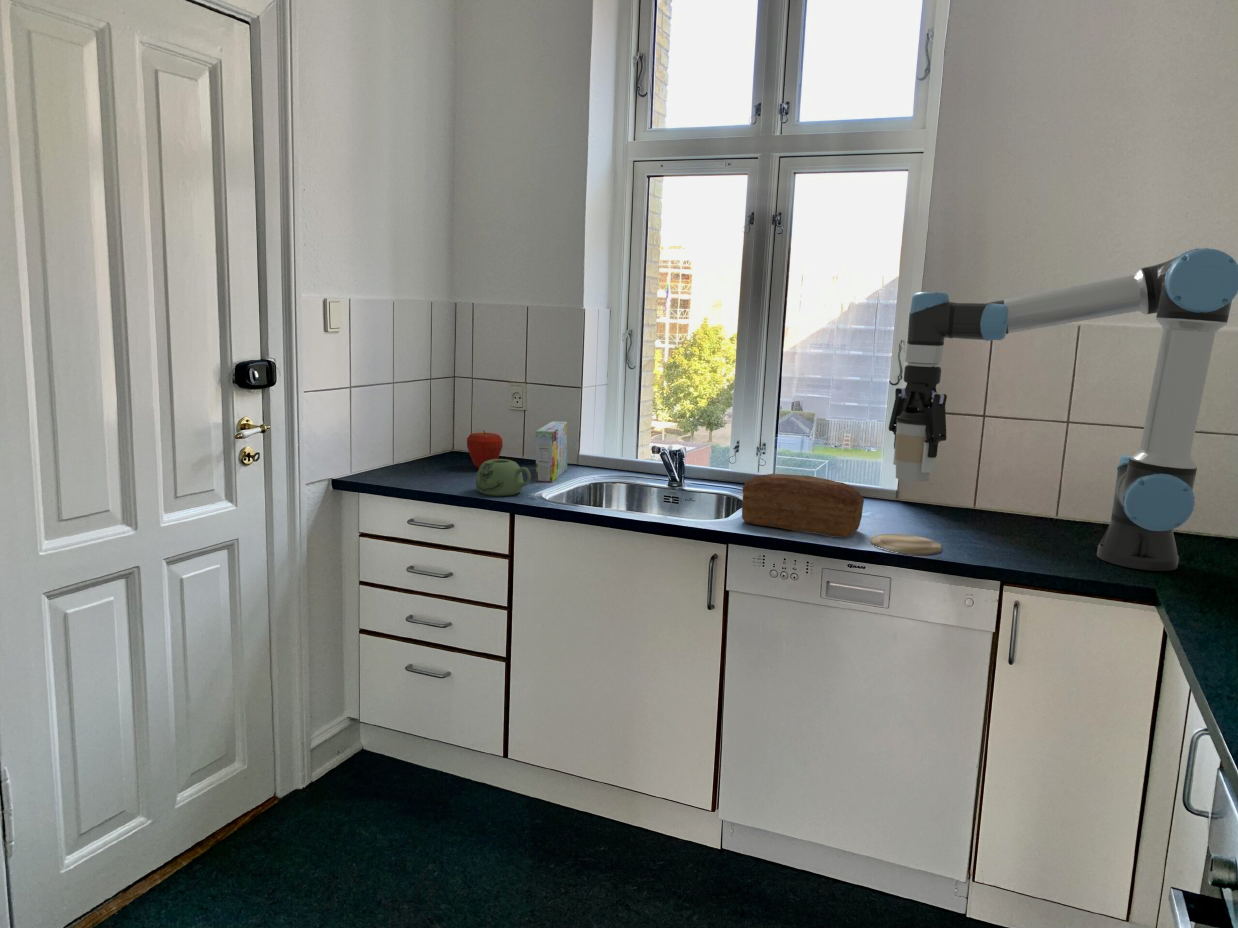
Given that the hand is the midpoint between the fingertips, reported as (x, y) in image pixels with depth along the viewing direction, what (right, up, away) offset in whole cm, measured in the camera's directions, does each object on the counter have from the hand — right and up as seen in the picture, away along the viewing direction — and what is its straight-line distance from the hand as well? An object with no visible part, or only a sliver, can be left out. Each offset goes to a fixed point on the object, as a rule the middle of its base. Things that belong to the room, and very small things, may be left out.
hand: (913, 468), depth 194 cm
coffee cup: (0, -3, 0) cm, 3 cm away
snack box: (-85, -3, +69) cm, 110 cm away
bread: (-22, -15, +16) cm, 31 cm away
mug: (-95, -7, +43) cm, 105 cm away
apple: (-106, -1, +76) cm, 130 cm away
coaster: (-1, -17, +2) cm, 18 cm away
